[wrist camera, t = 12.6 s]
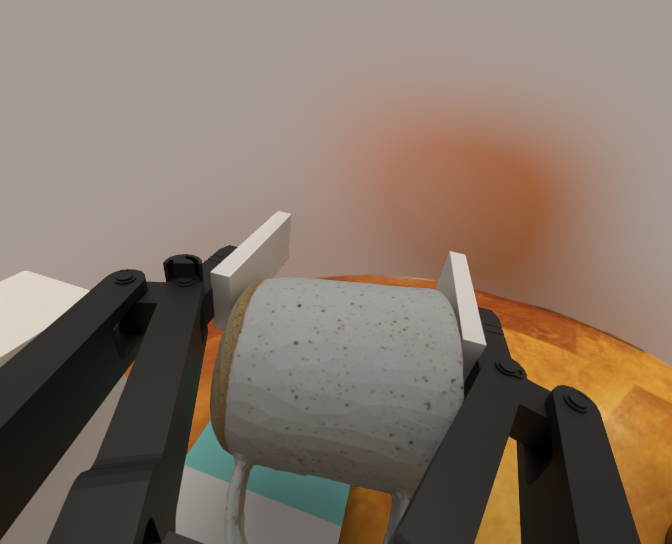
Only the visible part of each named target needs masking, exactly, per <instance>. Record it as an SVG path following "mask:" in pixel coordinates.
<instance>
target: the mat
mask: <svg viewBox="0 0 672 544" xmlns="http://www.w3.org/2000/svg"><path fill="white" fill-rule="evenodd" d="M234 467H235V461H234V457H233V455H231V454H229V453H228V452H226V451H225V450H223V449H222V447H221V446H220V444H219V442H218V441H217V438H216V436H215V434H214V431H213V428H212V424H211V420H210V421H209V423H208V424H207V426H206V427H205V429H204V430H203V432H202V433H201V435H200V436H199V438H198V439H197V441H196V442H195V444H194V445H193V447H192V448H191V450H190V451H189V453H188V454H187V456H186V459H185V465H184V470H183V476H182V482H181V487H180V493H179V499H178V504H177V511H176V533H177V534H180V535H182V536H185V537H188V538H190V539H193V540H196V541H198V542H201V543H204V544H226V542H225V521H224V515H225V510H226V502H227V491H228V488H229V484H230V479H231V475H232V472H233V470H234ZM349 490H350V485H348V484H345V483H341V482H337V481H332V480H329V479H325V478H321V477H316V476H312V475H306V476H302V475H298V474H295V473H291V472H285V471H276V470H274V469H271V468H268V467H263V466H260V465H254V466H253V468H252V469H251V470H250V475H249V479H248V483H247V487H246V497H245V505H244V514H245V521H244V532H245V536H246V539H247V542H248V544H338V541H339V537H340V532H341V527H342V523H343V518H344V513H345V509H346V504H347V499H348V495H349Z"/></svg>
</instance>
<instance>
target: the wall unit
mask: <svg viewBox="0 0 672 544" xmlns="http://www.w3.org/2000/svg"><path fill="white" fill-rule="evenodd" d="M88 292H89V290H86V289H83V288H80V287H77V286H74V285H71V284H67V283H64V282H61V281H58V280H54V279H51V278H48V277H45V276H42V275H39V274H36V273H33V272H29V271H26V270H25V271H23V272H21V273H18V274H17V275H14V276H12V277H10V278H8V279H5V280H3V281H1V282H0V367H1V366H3V365H4V364H5V363H6V362H7V361H8V360H10V359H11V358H12V357H13V356H14V355H16V354H17V353H18V352H19V351H20V350H21V349H23V348H24V347H25V346H26V345H27V344H28V343H30V342H31V341H32V340H33V339H34V338H35V337H37V336H38V335H39V334H40V333H41V332H42V331H44V330H45V329H46V328H47V327H48V326H49V325H51V324H52V323H53V322H54V321H55V320H56V319H58V318H59V317H60V316H61V315H62V314H63V313H65V312H66V311H67V310H68V309H69V308H71V307H72V306H73V305H74V304H75V303H76V302H78V301H79V300H80V299H81V298H82V297H83V296H85V295H86V294H87V293H88ZM126 381H127V379H126V375H125V373H124V375H123V376H122V377H121V379H120V380H119V381H118V383H117V384H116V385H115V387H114V388H113V389H112V391H111V392H110V393H109V395H108V396H107V398H106V399H105V400H104V402H103V403H102V404H101V406H100V407H99V408H98V410H97V411H96V412H95V414H94V415H93V416H92V418H91V419H90V420H89V422H88V423H87V424H86V426H85V427H84V429H83V430H82V431H81V433H80V434H79V435H78V437H77V438H76V439H75V441H74V442H73V443H72V445H71V446H70V447H69V449H68V450H67V451H66V453H65V454H64V455H63V457H62V458H61V459H60V461H59V462H58V464H57V465H56V466H55V468H54V469H53V470H52V472H51V473H50V474H49V476H48V477H47V478H46V480H45V481H44V482H43V484H42V485H41V486H40V488H39V489H38V490H37V492H36V493H35V495H34V496H33V497H32V499H31V500H30V501H29V503H28V504H27V505H26V507H25V508H24V509H23V511H22V512H21V513H20V515H19V516H18V517H17V519H16V520H15V521H14V523H13V524H12V526H11V527H10V528H9V530H8V531H7V532H6V534H5V535H4V536H3V538H2V539H1V540H0V544H47V541H48V539H49V537H50V534H51V532H52V530H53V527H54V525H55V523H56V520H57V518H58V516H59V513H60V511H61V509H62V506H63V504H64V502H65V499H66V497H67V495H68V492H69V490H70V488H71V486H72V484H73V483H74V481H75V479H76V478H77V477H78V475H79V474H80V473H81V472H84V471H86V470H89V469H90V468H91V467H92V466H93V463H94V461H95V459H96V457H97V454H98V452H99V449H100V447H101V444H102V442H103V439H104V437H105V434H106V432H107V429H108V427H109V424H110V422H111V419H112V417H113V414H114V412H115V409H116V407H117V404H118V401H119V399H120V396H121V394H122V391H123V389H124V386H125V384H126Z"/></svg>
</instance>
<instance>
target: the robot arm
mask: <svg viewBox="0 0 672 544" xmlns="http://www.w3.org/2000/svg"><path fill="white" fill-rule="evenodd" d="M290 229H291V214H289V213H284V212H280V211H278V212H277V213H276V214H274V215H273V216H272V217H271V218H270V219H269V220H268V221H267V222H265V223H264V224H263V225H262V226H261V227H260V228H259V229H258V230H257V231H256V232H254V233H253V234H252V235H251V236H250V237H249V238H248V239H247V240H245V241H244V243H242V244H241V245H240V246H239V247H235V246H231V245H229V246H226V247H224V248H221V249H219V250H218V251H217V252H216V253H214V254H213V256H211V257H210V258H209V259H208V260H206V261H205V262H204V263H202V260H201V259H200V258H199V257H196V256H194V255H188V254H182V255H176V256H172V257H170V258H168V259H166V260H165V262H164V263H163V265H164V271H165V277H166V282H146V278H145V274H144V273H143V272H141V271H138V270H130V269H127V270H120V271H117V272H114V273H112V274H110V275H108V276H107V277H106V278H104V279H103V280H102V281H101V282H100V283H99V284H97V285H96V286H95V287H94V288H93V289H92V290H90V291H89V292H88V293H87V294H86V295H85V296H83V297H82V298H81V299H80V300H79V301H78V302H76V303H75V304H74V305H73V306H72V307H71V308H69V309H68V310H67V311H66V312H65V313H63V314H62V315H61V316H60V317H59V318H58V319H56V320H55V321H54V322H53V323H52V324H51V325H49V326H48V327H47V328H46V329H45V330H44V331H42V332H41V333H40V334H39V335H38V336H37V337H35V338H34V339H33V340H32V341H31V342H30V343H28V344H27V345H26V346H25V347H24V348H23V349H21V350H20V351H19V352H18V353H17V354H16V355H14V356H13V357H12V358H11V359H10V360H8V361H7V362H6V363H5V364H4V365H3V366H1V367H0V540H1V539H2V538H3V536H4V535H5V534H6V532H7V531H8V530H9V528H10V527H11V526H12V524H13V523H14V521H15V520H16V519H17V517H18V516H19V515H20V513H21V512H22V511H23V509H24V508H25V507H26V505H27V504H28V503H29V501H30V500H31V499H32V497H33V496H34V495H35V493H36V492H37V490H38V489H39V488H40V486H41V485H42V484H43V482H44V481H45V480H46V478H47V477H48V476H49V474H50V473H51V472H52V470H53V469H54V468H55V466H56V465H57V464H58V462H59V461H60V459H61V458H62V457H63V455H64V454H65V453H66V451H67V450H68V449H69V447H70V446H71V445H72V443H73V442H74V441H75V439H76V438H77V437H78V435H79V434H80V433H81V431H82V430H83V429H84V427H85V426H86V424H87V423H88V422H89V420H90V419H91V418H92V416H93V415H94V414H95V412H96V411H97V410H98V408H99V407H100V406H101V404H102V403H103V402H104V400H105V399H106V398H107V396H108V395H109V393H110V392H111V391H112V389H113V388H114V387H115V385H116V384H117V383H118V381H119V380H120V379H121V377H122V376H123V375H124V373H125V372H126V371H127V369H128V368H129V367H130V365H131V364H132V362H133V361H134V360H135V361H134V364H133V366H132V369H131V371H130V374H129V376H128V379H127V381H126V384H125V386H124V389H123V391H122V394H121V396H120V399H119V401H118V404H117V407H116V409H115V412H114V414H113V417H112V419H111V422H110V424H109V427H108V429H107V432H106V434H105V437H104V439H103V442H102V444H101V447H100V449H99V452H98V454H97V457H96V459H95V461H94V463H93V466H92V467H91V468H90V469H89V470H86V471H84V472H81V473H80V474H79V475H78V477H77V478H76V479H75V481H74V483H73V484H72V486H71V488H70V490H69V492H68V495H67V497H66V499H65V502H64V504H63V506H62V509H61V511H60V513H59V516H58V518H57V520H56V523H55V525H54V527H53V530H52V532H51V534H50V537H49V539H48V541H47V544H204V543H201V542H198V541H196V540H193V539H190V538H188V537H185V536H182V535H180V534H177V533H176V511H177V504H178V499H179V493H180V487H181V482H182V476H183V470H184V465H185V459H186V453H187V448H188V442H189V436H190V431H191V425H192V420H193V414H194V408H195V403H196V397H197V391H198V386H199V380H200V374H201V369H202V363H203V357H204V352H205V346H206V340H207V335H208V326H207V324H208V323H209V322H210V321H211V320H212V318H213V317H214V328H217V329H220V330H224V329H225V326H226V324H227V321H228V318H229V316H230V313H231V311H232V309H233V307H234V305H235V303H236V301H237V299H238V298H239V297H240V295H241V294H242V293H243V292H244V290H245V289H246V288H247V287H248V286H249V285H251V284H252V283H254V282H256V281H258V280H262V279H268V278H273V277H274V276H275V275H276V274H277V272H278V271H279V269H280V268H281V267H282V266H283V264H284V263H285V262H286V260H287V259H288V254H289V241H290ZM435 290H438V291H440V292H442V293H443V294H444V295H445V297H446V298H447V299H448V300H449V302H450V304H451V306H452V308H453V310H454V313H455V316H456V320H457V324H458V329H459V333H460V338H461V345H462V354H463V380H464V402H463V404H462V406H461V407H460V409H459V411H458V413H457V415H456V417H455V418H454V420H453V422H452V424H451V426H450V428H449V429H448V431H447V433H446V435H445V437H444V438H443V440H442V442H441V444H440V446H439V448H438V449H437V451H436V453H435V455H434V457H433V458H432V460H431V462H430V464H429V466H428V468H427V470H426V471H425V473H424V475H423V477H422V479H421V481H420V483H419V485H418V487H417V489H416V491H415V493H414V494H413V496H412V498H411V500H410V502H409V504H408V506H407V508H406V510H405V512H404V514H403V516H402V517H401V519H400V521H399V523H398V525H397V527H396V529H395V531H394V533H393V535H392V537H391V538H390V540H389V542H388V544H474V542H475V539H476V536H477V533H478V530H479V527H480V524H481V521H482V517H483V514H484V511H485V508H486V505H487V502H488V499H489V496H490V493H491V489H492V486H493V483H494V480H495V477H496V474H497V471H498V468H499V465H500V462H501V458H502V455H503V452H504V449H505V446H506V443H507V440H508V437H509V436H510V437H511V438H513V439H515V440H516V441H517V460H518V482H519V503H520V525H521V544H641V542H640V539H639V536H638V533H637V530H636V526H635V523H634V520H633V517H632V514H631V510H630V507H629V504H628V501H627V498H626V494H625V491H624V488H623V485H622V482H621V478H620V475H619V472H618V469H617V466H616V462H615V459H614V456H613V453H612V449H611V446H610V443H609V440H608V437H607V433H606V430H605V427H604V424H603V421H602V417H601V414H600V412H599V410H598V408H597V406H596V405H595V404H594V402H593V401H592V400H591V399H590V398H589V397H587V396H586V395H585V394H583V393H582V392H580V391H578V390H576V389H574V388H572V387H569V386H565V385H561V386H557V387H555V388H554V389H553V390H552V392H551V391H549V390H547V389H545V388H543V387H541V386H539V385H537V384H535V383H533V382H532V381H530V380H528V379H527V374H526V372H525V370H524V369H523V368H522V367H521V365H520V364H519V363H517V362H516V361H514V360H513V359H511V356H510V352H509V349H508V346H507V343H506V340H505V337H504V333H503V330H502V327H501V324H500V320H499V319H498V317H497V316H496V315H495V314H494V313H493V311H492V310H488V309H484V308H480V307H477V303H476V299H475V295H474V290H473V286H472V282H471V278H470V273H469V269H468V265H467V261H466V257H465V255H463V254H459V253H455V252H450V253H449V255H448V258H447V260H446V263H445V266H444V268H443V271H442V273H441V276H440V278H439V281H438V284H437V286H436V289H435ZM135 358H136V359H135ZM666 544H672V525H671V527H670V529H669V531H668V535H667V541H666Z"/></svg>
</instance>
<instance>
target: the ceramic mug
mask: <svg viewBox="0 0 672 544" xmlns="http://www.w3.org/2000/svg"><path fill="white" fill-rule="evenodd" d="M463 402H464V380H463V354H462V345H461V338H460V333H459V329H458V324H457V320H456V316H455V313H454V310H453V308H452V306H451V304H450V302H449V300H448V299H447V298H446V297H445V295H444V294H443V293H442V292H440V291H438V290H434V289H427V288H412V287H398V286H387V285H378V284H369V283H357V282H343V281H332V280H323V279H314V278H301V277H283V278H268V279H262V280H258V281H256V282H254V283H252V284H251V285H249V286H248V287H247V288H246V289H245V290H244V292H243V293H242V294H241V295H240V297H239V298H238V299H237V301H236V303H235V305H234V307H233V309H232V311H231V313H230V316H229V318H228V321H227V324H226V326H225V329H224V332H223V335H222V338H221V340H220V345H219V349H218V354H217V359H216V363H215V367H214V371H213V378H212V384H211V396H210V414H211V424H212V428H213V431H214V434H215V436H216V438H217V441H218V442H219V444H220V446H221V447H222V449H223V450H225V451H226V452H228V453H229V454H231V455H233V457H234V461H235V467H234V470H233V472H232V475H231V479H230V484H229V488H228V491H227V502H226V510H225V515H224V521H225V542H226V544H248V542H247V539H246V536H245V532H244V521H245V514H244V505H245V497H246V487H247V483H248V479H249V475H250V470H251V469H252V468H253V466H254V465H260V466H263V467H268V468H271V469H274V470H276V471H285V472H291V473H295V474H298V475H302V476H306V475H312V476H316V477H321V478H325V479H329V480H332V481H337V482H341V483H345V484H348V485H352V486H360V487H364V488H368V489H373V490H378V491H383V492H386V493H390V494H391V496H392V508H391V514H390V519H389V524H388V528H387V532H386V535H385V539H384V542H383V544H388V542H389V540H390V538H391V537H392V535H393V533H394V531H395V529H396V527H397V525H398V523H399V521H400V519H401V517H402V516H403V514H404V512H405V510H406V508H407V506H408V504H409V502H410V500H411V498H412V496H413V494H414V493H415V491H416V489H417V487H418V485H419V483H420V481H421V479H422V477H423V475H424V473H425V471H426V470H427V468H428V466H429V464H430V462H431V460H432V458H433V457H434V455H435V453H436V451H437V449H438V448H439V446H440V444H441V442H442V440H443V438H444V437H445V435H446V433H447V431H448V429H449V428H450V426H451V424H452V422H453V420H454V418H455V417H456V415H457V413H458V411H459V409H460V407H461V406H462V404H463Z"/></svg>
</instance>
